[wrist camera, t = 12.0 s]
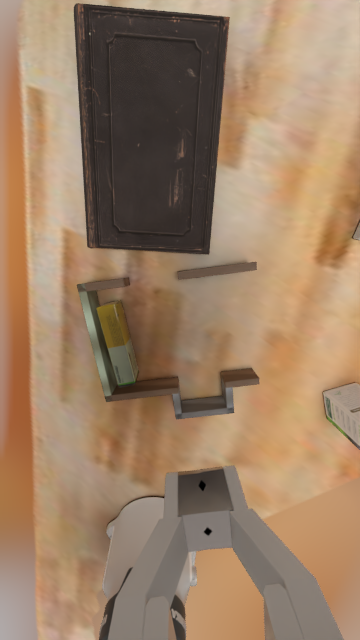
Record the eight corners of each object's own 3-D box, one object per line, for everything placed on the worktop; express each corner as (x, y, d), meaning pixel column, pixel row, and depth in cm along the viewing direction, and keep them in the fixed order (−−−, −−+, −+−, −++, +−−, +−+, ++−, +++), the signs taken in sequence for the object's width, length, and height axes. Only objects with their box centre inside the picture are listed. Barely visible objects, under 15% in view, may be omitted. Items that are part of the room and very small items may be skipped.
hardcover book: (224, 41, 22) (229, 16, 20) (206, 255, 28) (209, 254, 26) (81, 29, 22) (70, 1, 19) (92, 248, 27) (85, 246, 25)
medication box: (140, 371, 32) (136, 385, 28) (124, 374, 32) (117, 389, 28) (122, 299, 29) (114, 303, 25) (104, 302, 29) (93, 307, 25)
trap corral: (252, 397, 33) (260, 409, 30) (118, 413, 33) (112, 426, 30) (248, 262, 28) (256, 261, 25) (87, 283, 28) (76, 284, 25)
